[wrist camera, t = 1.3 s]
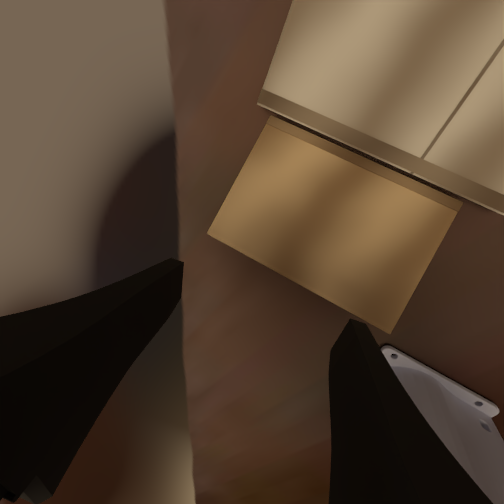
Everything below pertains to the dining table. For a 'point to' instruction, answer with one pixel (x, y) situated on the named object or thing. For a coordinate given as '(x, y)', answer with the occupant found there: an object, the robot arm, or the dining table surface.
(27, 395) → the robot arm
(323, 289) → the board
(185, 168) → the dining table surface
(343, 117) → the floor board
